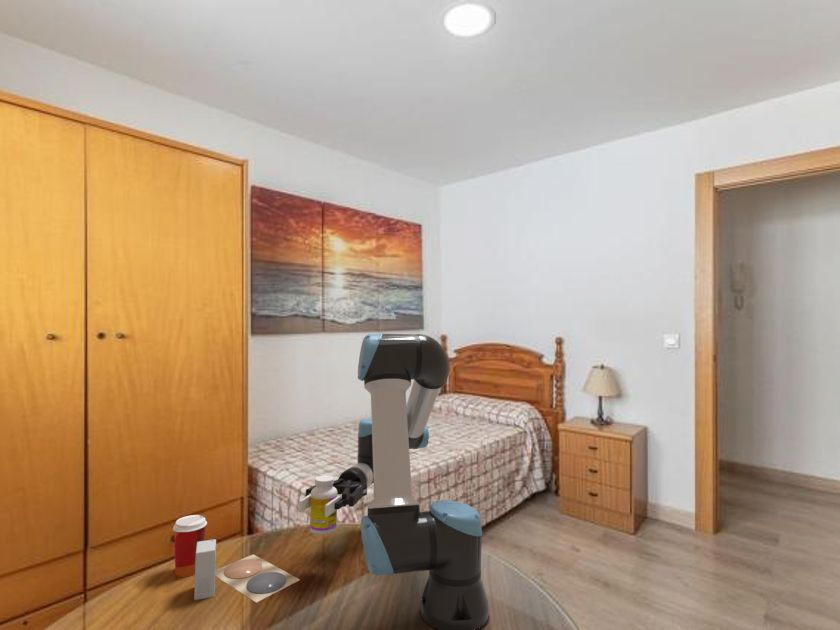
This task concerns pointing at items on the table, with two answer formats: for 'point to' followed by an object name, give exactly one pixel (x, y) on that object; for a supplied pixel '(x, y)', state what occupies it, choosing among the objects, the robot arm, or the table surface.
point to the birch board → (242, 583)
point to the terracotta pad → (243, 569)
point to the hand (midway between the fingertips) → (313, 508)
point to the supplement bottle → (322, 506)
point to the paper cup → (187, 543)
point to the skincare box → (205, 569)
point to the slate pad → (266, 582)
